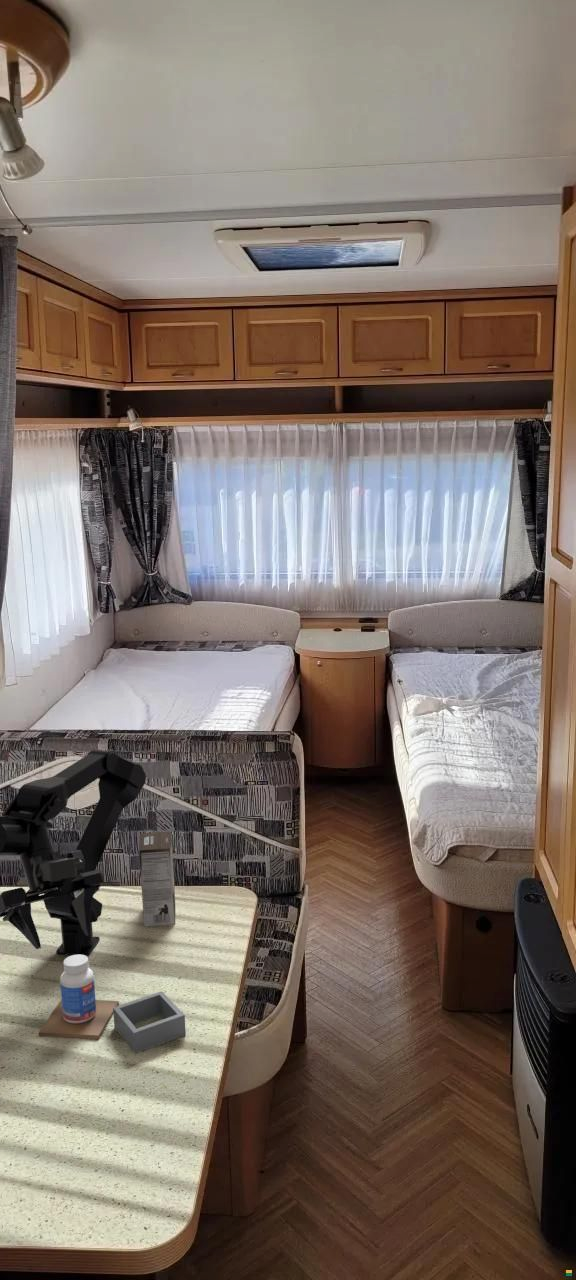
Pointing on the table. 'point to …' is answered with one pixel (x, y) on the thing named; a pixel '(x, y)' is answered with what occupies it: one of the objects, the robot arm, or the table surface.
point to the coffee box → (157, 878)
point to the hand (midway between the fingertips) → (63, 941)
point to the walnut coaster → (87, 1029)
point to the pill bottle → (77, 990)
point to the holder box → (153, 1032)
